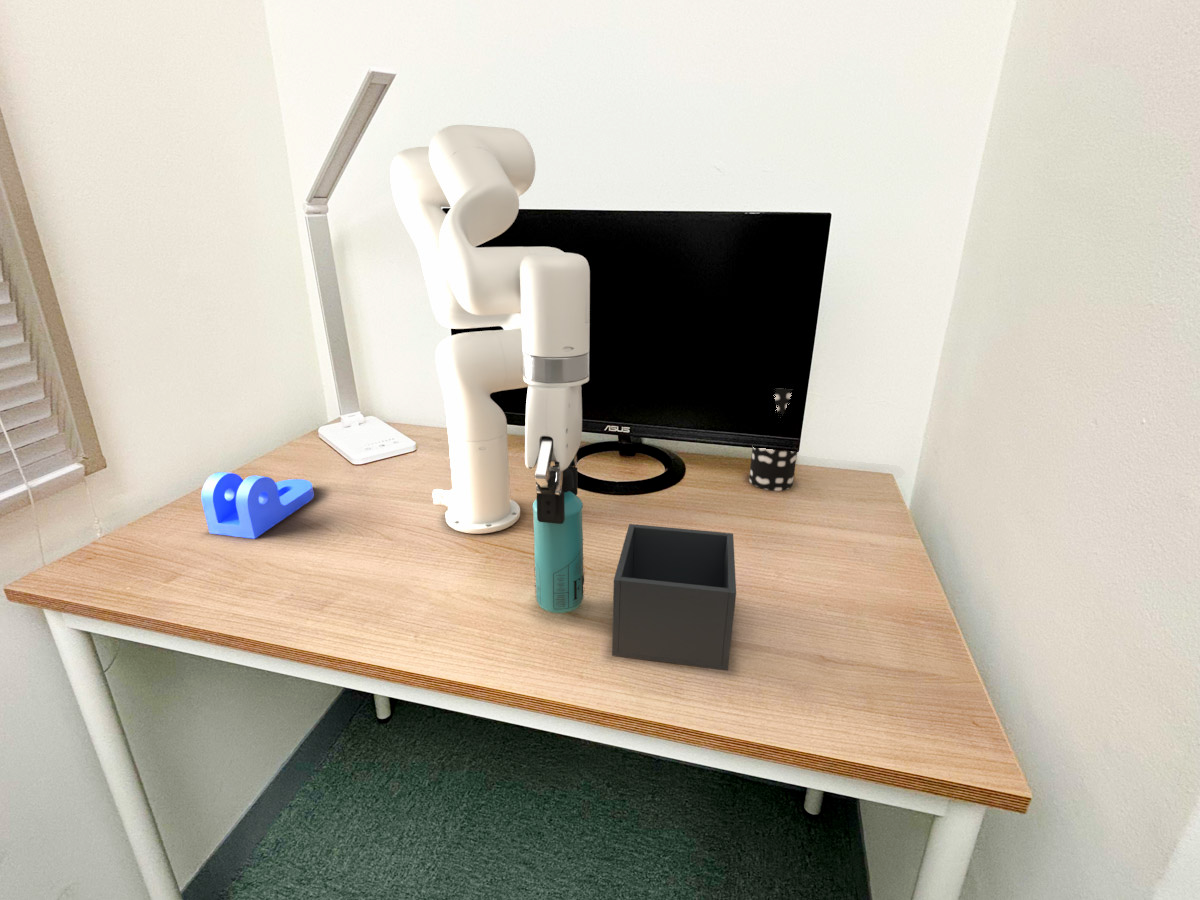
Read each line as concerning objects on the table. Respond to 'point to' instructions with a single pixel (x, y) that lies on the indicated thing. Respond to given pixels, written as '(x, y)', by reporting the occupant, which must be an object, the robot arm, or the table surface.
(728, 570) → the open box
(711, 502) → the table surface
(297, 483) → the bracket
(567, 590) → the beverage bottle
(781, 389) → the white-spotted black cylinder
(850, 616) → the table surface
